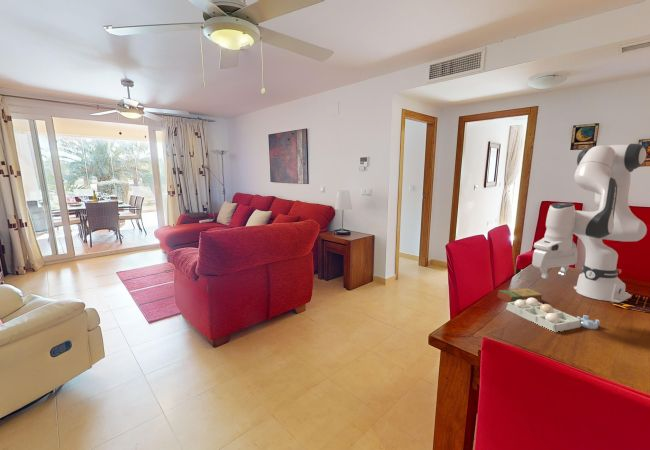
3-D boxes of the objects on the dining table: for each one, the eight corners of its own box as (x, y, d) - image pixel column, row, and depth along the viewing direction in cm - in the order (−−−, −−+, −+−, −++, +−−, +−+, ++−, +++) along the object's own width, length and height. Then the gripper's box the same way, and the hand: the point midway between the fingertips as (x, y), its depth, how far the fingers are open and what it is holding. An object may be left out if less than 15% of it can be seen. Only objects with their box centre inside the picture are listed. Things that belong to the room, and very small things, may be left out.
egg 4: (550, 321, 115) (551, 310, 114) (562, 326, 110) (563, 315, 110) (541, 322, 113) (542, 311, 113) (553, 328, 109) (555, 317, 108)
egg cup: (583, 320, 116) (584, 314, 116) (601, 327, 111) (602, 321, 110) (573, 322, 115) (574, 316, 114) (590, 330, 109) (591, 323, 109)
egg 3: (545, 309, 123) (544, 300, 121) (557, 314, 118) (555, 304, 117) (537, 314, 122) (536, 304, 120) (548, 319, 117) (547, 309, 116)
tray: (529, 305, 131) (530, 298, 130) (580, 327, 111) (581, 319, 111) (506, 309, 127) (506, 302, 126) (554, 332, 107) (555, 325, 107)
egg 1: (519, 307, 127) (520, 297, 126) (529, 311, 123) (530, 301, 122) (511, 308, 126) (512, 298, 125) (521, 313, 121) (522, 302, 121)
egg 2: (530, 305, 129) (531, 295, 128) (540, 309, 125) (542, 299, 124) (522, 306, 128) (523, 296, 127) (532, 310, 123) (534, 300, 123)
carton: (541, 302, 134) (542, 294, 133) (510, 305, 132) (511, 296, 131) (526, 295, 142) (527, 287, 141) (497, 297, 140) (498, 289, 139)
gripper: (567, 239, 121) (563, 271, 123) (530, 243, 115) (527, 276, 118) (584, 243, 115) (580, 276, 117) (546, 247, 109) (542, 282, 112)
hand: (553, 276), depth 118 cm, fingers open, 8 cm apart
